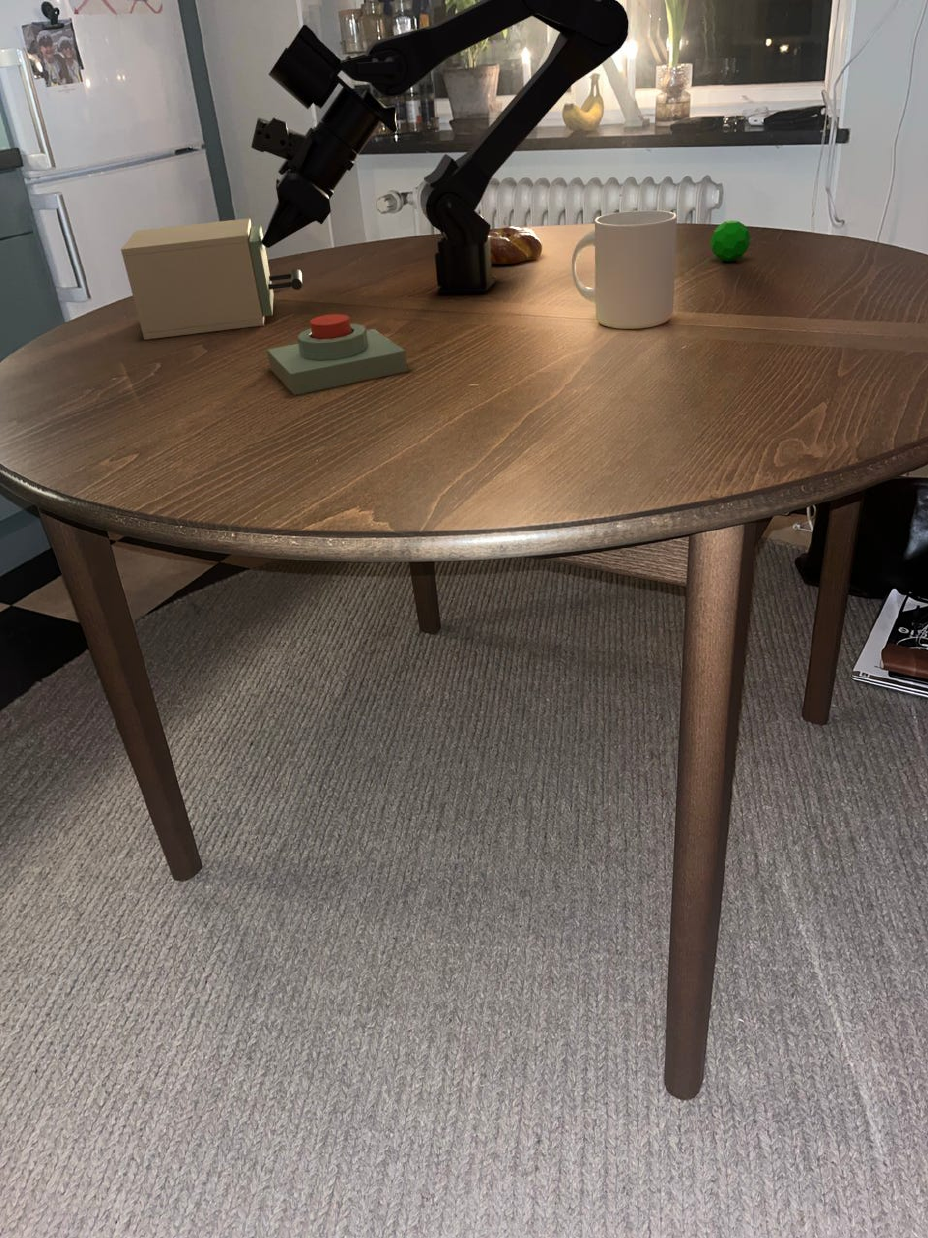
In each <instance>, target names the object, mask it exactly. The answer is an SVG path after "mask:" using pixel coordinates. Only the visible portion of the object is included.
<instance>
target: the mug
mask: <svg viewBox="0 0 928 1238" xmlns="http://www.w3.org/2000/svg"><path fill="white" fill-rule="evenodd" d="M677 221H678V216H677V214H676V213H675V212H672V211H667V210H660V209H659V210H658V209H638V210H624V211H616V212H612V213H611V212H610V213H607V214H604V215H600V216H598V217H596V218H595V219H594V229H593V230H591V231H589V232H587V233H586V234H585V235H584V236H583V237H581V239H580V240H579V241H578V242H577V244H576V246H575V248H574V250H573V254H572V258H571V268H572V269H571V271H572V277H573V282H574V286H575V288H576V290H577V291H578V293H579V294H580V295H581V297H582V298H584V299H585V300H586V301H588V302H590V303H592V304H594V310H595V318H596V320H597V322H598V323H599V324H601V325H603V326H605V327H607V328H608V327H609V328H613V329H619V330H620V329H622V330H634V329H635V330H638V329H647V328H652V327H655V326H659V325H662V324H665V323H667V322H668V321H669V320H670V319H671V317H672V316H673V312H674V305H675V303H674V301H675V278H676V277H675V275H676V253H677V252H676V250H677V249H676V248H677V223H678V222H677ZM592 247H594V287H588V286H586V285H584V284H583V283H582V282H581V280H580V279H579V277H578V273H577V261H578V259H579V256H580V255H581V253H583V252H584V250H586V249H589V248H592Z"/></svg>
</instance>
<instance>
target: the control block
mask: <svg viewBox="0 0 928 1238" xmlns="http://www.w3.org/2000/svg"><path fill="white" fill-rule="evenodd" d="M350 325H351V332H352V333H351V334H349V335H347V336H344V337H339V338H333V339H314V338H313V337H312V331H311V327H310V328H308V329H305V330H302V331H301V332H300V333H299V334H298V335H297V337H296V339H297V343H294V344H288V345H284V346H279V347H273V348H268V349H266V353H267V358H268V364H269V368H270V369H269V370H270V371H271V372H272V373H273V374H274V375H275V376H276V377H277V378H278V379H279V381H280V382H282V384H283V385H284V386H285V387H286V388H287V389H288V390H289V391H290V392H291V393H292V395H293V396H298V395H303V394H307V393H311V392H317V391H322V390H326V389H327V390H328V389H331V388H335V387H341V386H345V385H350V384H355V383H360V382H364V381H369V380H375V379H378V378H383V377H387V376H393V375H397V374H402V373H406V372H408V364H407V355H406V350H405V349H403V348H402V347H401V346H399V345H398V344H396V343H395V342H393V341H392V340H391V339H389V338H387V337H386V336H384V335H383V334H381V333H380V332H379V331H377V330H376V329H374V328H371V329H367V328H366V327H365V326H364V325H362V324H358V323H353V322H352V323H351V322H350Z"/></svg>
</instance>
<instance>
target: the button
mask: <svg viewBox="0 0 928 1238" xmlns="http://www.w3.org/2000/svg"><path fill="white" fill-rule="evenodd" d="M350 323H351V319H350V316H349V315H347V314H343V313H332V314H324V315H320V316H317V317H314V318H312V319H310V321H309V324H310V328H311V331H312V337H313V338H314V339H333V338H339V337H344V336H347V335H349V334H351V333H352V332H351V325H350Z"/></svg>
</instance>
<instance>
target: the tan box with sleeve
mask: <svg viewBox="0 0 928 1238" xmlns="http://www.w3.org/2000/svg"><path fill="white" fill-rule="evenodd" d="M252 226H253V225H252V221H251V218H250V217H247V218H239V219H229V220H220V221H212V222H203V223H194V224H193V223H192V224H184V225H176V226H166V227H157V228H149V229H141V230H135V231H134V232H133V233H132V235H131V236H130V237H129V238H128V239H127V241H126V242H125V243H124V245H123V246H122V247H121V248H120V251H121V257H122V259H123V263H124V267H125V271H126V275H127V278H128V282H129V286H130V290H131V294H132V298H133V301H134V306H135V309H136V313H137V317H138V320H139V324H140V329H141V332H142V336H143V340H144V341H147V340H155V339H164V338H171V337H179V336H187V335H196V334H204V333H211V332H212V333H213V332H221V331H228V330H237V329H245V328H246V329H247V328H254V327H261V326H262V327H263V326H265V317H263V315H262V310H261V304H260V299H259V294H258V289H257V283H256V278H255V273H254V268H253V263H252V257H251V252H250V247H249V238H250V233H251V228H252Z"/></svg>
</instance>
